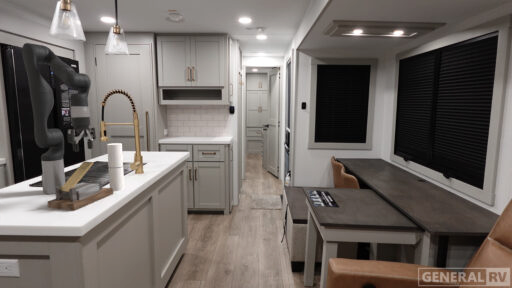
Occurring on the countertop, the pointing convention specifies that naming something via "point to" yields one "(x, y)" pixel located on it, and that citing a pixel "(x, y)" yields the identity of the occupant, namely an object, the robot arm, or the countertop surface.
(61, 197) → the stand
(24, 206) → the countertop surface
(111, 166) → the cylindrical container
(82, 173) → the plate
